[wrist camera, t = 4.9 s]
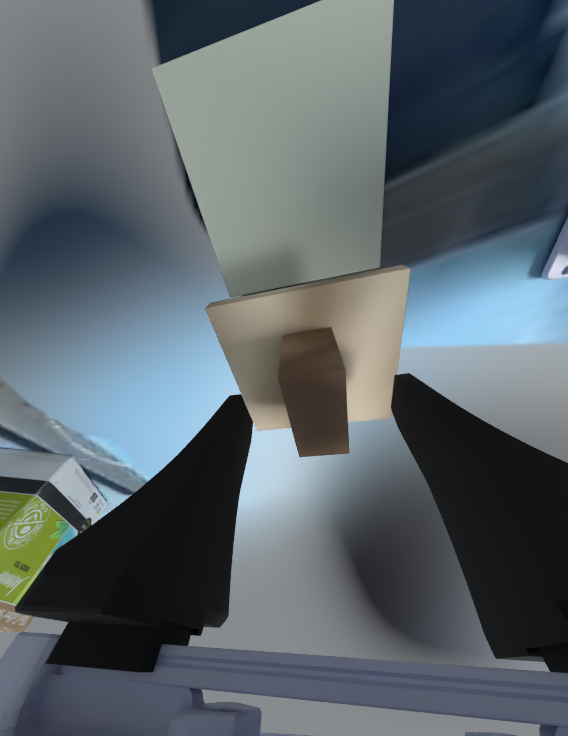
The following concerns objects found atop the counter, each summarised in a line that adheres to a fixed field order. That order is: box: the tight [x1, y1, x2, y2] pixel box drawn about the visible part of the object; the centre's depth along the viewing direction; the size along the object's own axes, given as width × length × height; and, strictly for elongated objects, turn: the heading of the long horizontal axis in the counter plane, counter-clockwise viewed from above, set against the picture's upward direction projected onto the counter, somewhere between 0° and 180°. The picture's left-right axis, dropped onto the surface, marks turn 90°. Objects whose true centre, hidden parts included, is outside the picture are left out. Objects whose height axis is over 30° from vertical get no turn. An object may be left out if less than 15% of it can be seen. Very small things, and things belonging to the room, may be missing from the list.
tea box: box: [0, 448, 108, 632], centre depth 27 cm, size 15×10×15 cm
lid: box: [205, 265, 411, 457], centre depth 11 cm, size 9×9×4 cm
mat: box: [152, 0, 394, 297], centre depth 11 cm, size 10×10×1 cm
